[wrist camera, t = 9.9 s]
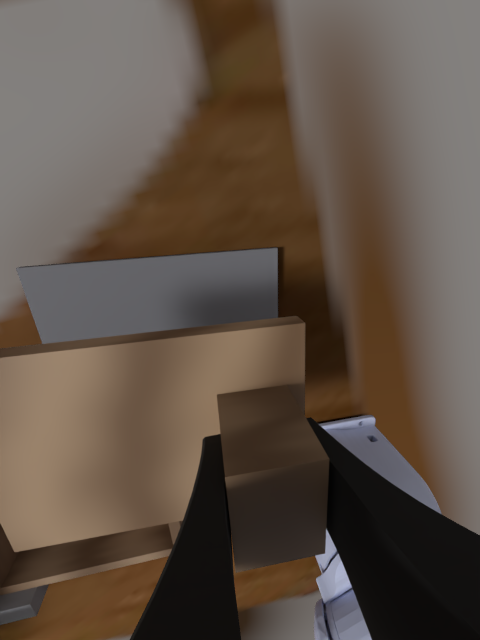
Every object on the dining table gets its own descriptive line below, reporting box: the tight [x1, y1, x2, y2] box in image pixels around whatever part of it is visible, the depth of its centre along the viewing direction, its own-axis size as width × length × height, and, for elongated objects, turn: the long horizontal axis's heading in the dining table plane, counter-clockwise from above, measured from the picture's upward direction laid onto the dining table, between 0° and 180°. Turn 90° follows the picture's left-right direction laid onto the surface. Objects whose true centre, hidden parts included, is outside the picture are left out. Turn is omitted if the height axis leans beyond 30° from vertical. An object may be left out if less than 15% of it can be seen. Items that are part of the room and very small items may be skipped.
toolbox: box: [0, 521, 183, 625], centre depth 19 cm, size 19×13×7 cm
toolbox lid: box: [0, 316, 329, 573], centre depth 10 cm, size 14×9×5 cm
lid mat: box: [16, 247, 278, 344], centre depth 19 cm, size 16×12×1 cm
